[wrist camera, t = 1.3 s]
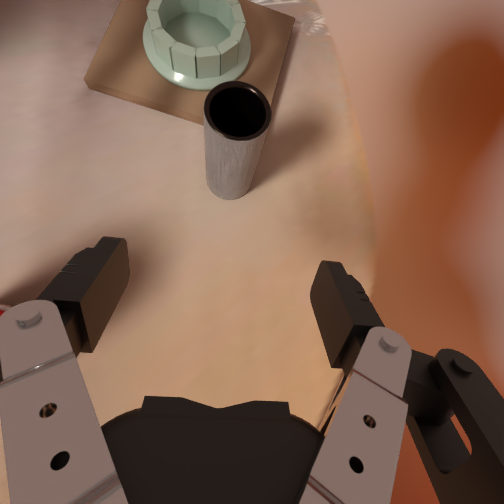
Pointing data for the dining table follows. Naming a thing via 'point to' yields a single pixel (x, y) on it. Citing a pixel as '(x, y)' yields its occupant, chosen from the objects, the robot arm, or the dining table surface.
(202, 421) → the robot arm
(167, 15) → the holder
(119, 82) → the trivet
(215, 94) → the grey hollow cylinder
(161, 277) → the dining table surface
